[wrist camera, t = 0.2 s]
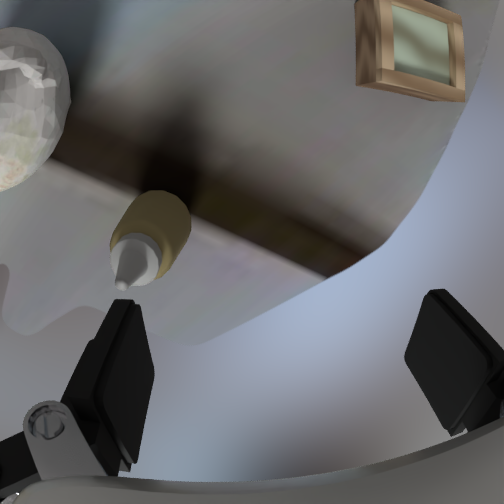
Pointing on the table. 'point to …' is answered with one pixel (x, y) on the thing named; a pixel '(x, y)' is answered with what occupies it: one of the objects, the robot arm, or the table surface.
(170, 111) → the table surface
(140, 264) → the squeeze bottle
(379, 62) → the wooden box
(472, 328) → the robot arm
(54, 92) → the ceramic pitcher
